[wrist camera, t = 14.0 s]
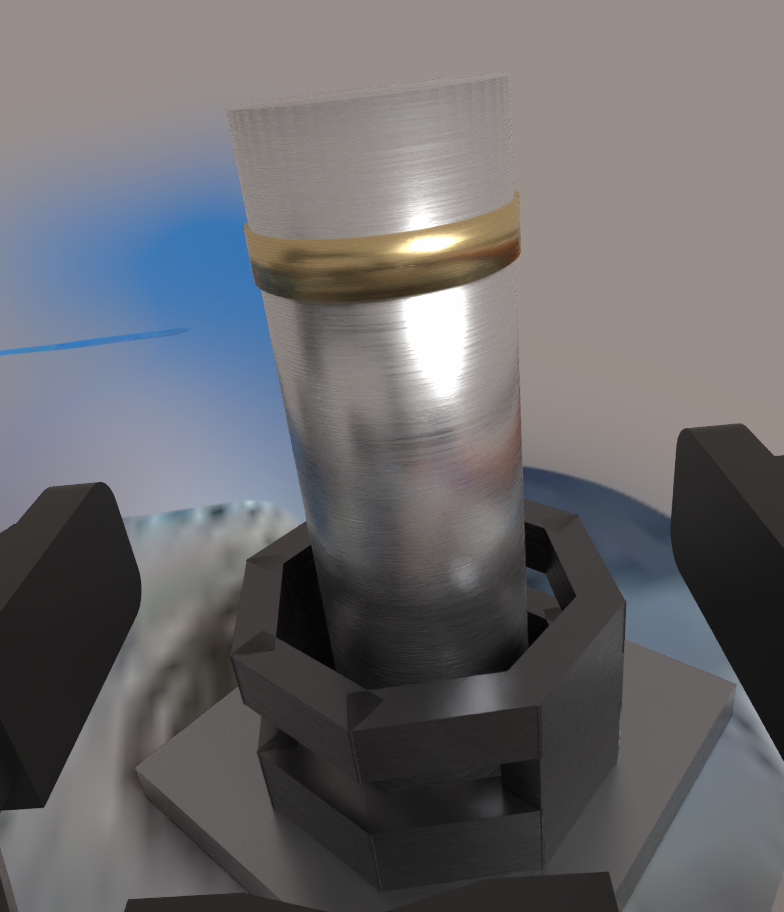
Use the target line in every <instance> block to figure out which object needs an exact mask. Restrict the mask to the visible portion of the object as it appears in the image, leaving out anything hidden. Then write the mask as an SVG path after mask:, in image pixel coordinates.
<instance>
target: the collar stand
mask: <svg viewBox="0 0 784 912" xmlns="http://www.w3.org/2000/svg"><path fill="white" fill-rule="evenodd" d="M524 528H525V560H526V567H529V568H531V569H534V570H537V571H539V572H542V573H545V574H546V576H547V578H548V581H549V583H550V585H551V587H552V590H553V592H554V594H555V597H554V596H552V595H549V594H547V593H544V592H542V591H539V590H536V589H534V588H531V587H529V586H526V591H527V622H528V650H527V651H526V652H525V653H524V654H523V655H522V656H521V657H520V658H519V659H518V660H517V662H516V663H515V664H514V665H513V666H512V667H511V668H510V669H509V670H508V671H506V672H499V673H491V674H484V675H477V676H470V677H462V678H455V679H448V680H441V681H433V682H426V683H419V684H411V685H404V686H397V687H390V688H382V689H375V690H366V689H365V688H363V687H361V686H360V685H358V684H356V683H354V682H353V681H351V680H349V679H347V678H346V677H344V676H342V675H341V674H339V673H337V672H336V668H335V663H334V658H333V653H332V648H331V643H330V638H329V632H328V627H327V622H326V617H325V612H324V607H323V602H322V597H321V592H320V587H319V581H318V576H317V571H316V566H315V561H314V556H313V551H312V546H311V541H310V536H309V531H308V525H307V521H306V522H304V523H303V524H301V525H299V526H298V527H296V528H295V529H293V530H292V531H290V532H289V533H287V534H286V535H284V536H283V537H281V538H280V539H278V540H276V541H275V542H273V543H272V544H270V545H269V546H267V547H266V548H264V549H263V550H261V551H260V552H258V553H256V554H255V555H253V556H252V557H250V558H249V559H247V560H246V562H247V563H246V569H245V575H244V581H243V586H242V592H241V598H240V604H239V609H238V615H237V621H236V627H235V632H234V638H233V644H232V650H231V654H230V659H231V662H232V666H233V669H234V673H235V676H236V680H237V684H238V687H237V688H236V689H234V690H233V691H232V692H231V693H229V694H228V695H227V696H225V697H224V698H223V699H222V700H220V701H219V702H218V703H216V704H215V705H214V706H213V707H211V708H210V709H209V710H208V711H206V712H205V713H204V714H202V715H201V716H200V717H199V718H197V719H196V720H195V721H194V722H192V723H191V724H190V725H188V726H187V727H186V728H185V729H183V730H182V731H181V732H179V733H178V734H177V735H176V736H174V737H173V738H172V739H171V740H169V741H168V742H167V743H165V744H164V745H163V746H162V747H160V748H159V749H158V750H157V751H155V752H154V753H153V754H151V755H150V756H149V757H148V758H146V759H145V760H144V761H142V762H141V763H140V764H139V765H137V766H136V767H135V769H136V772H137V774H138V777H139V779H140V782H141V785H142V787H143V790H144V792H145V795H146V797H147V798H148V799H149V800H151V801H152V802H153V803H154V804H155V805H156V806H157V807H158V808H159V809H160V810H161V811H162V812H163V813H164V814H166V815H167V816H168V817H169V818H170V819H171V820H172V821H173V822H174V823H175V824H176V825H177V826H178V827H179V828H181V829H182V830H183V831H184V832H185V833H186V834H187V835H188V836H189V837H190V838H191V839H192V840H193V841H194V842H196V843H197V844H198V845H199V846H200V847H201V848H202V849H203V850H204V851H205V852H206V853H207V854H208V855H209V856H211V857H212V858H213V859H214V860H215V861H216V862H217V863H218V864H219V865H220V866H221V867H222V868H223V869H224V870H226V871H227V872H228V873H229V874H230V875H231V876H232V877H233V878H234V879H235V880H236V881H237V882H238V883H239V884H241V885H242V886H243V887H244V888H245V889H246V890H247V891H248V892H249V893H250V894H251V895H255V896H259V897H264V898H268V899H273V900H277V901H282V902H286V903H291V904H295V905H300V906H304V907H309V908H313V909H318V910H322V911H327V912H386V911H389V910H392V909H395V908H398V907H401V906H404V905H408V904H411V903H414V902H417V901H420V900H423V899H426V898H429V897H432V896H435V895H438V894H441V893H444V892H447V891H451V890H454V889H457V888H460V887H463V886H466V885H469V884H472V883H475V882H478V881H481V880H484V879H489V878H506V877H523V876H541V875H558V874H575V873H592V872H609V874H610V878H611V882H612V886H613V890H614V894H615V898H616V902H617V905H618V909H619V912H622V910H623V908H624V906H625V905H626V903H627V901H628V899H629V898H630V896H631V894H632V892H633V890H634V889H635V887H636V885H637V883H638V882H639V880H640V878H641V876H642V874H643V873H644V871H645V869H646V867H647V866H648V864H649V862H650V860H651V858H652V857H653V855H654V853H655V851H656V850H657V848H658V846H659V844H660V842H661V841H662V839H663V837H664V835H665V834H666V832H667V830H668V828H669V826H670V825H671V823H672V821H673V819H674V818H675V816H676V814H677V812H678V810H679V809H680V807H681V805H682V803H683V802H684V800H685V798H686V796H687V795H688V793H689V791H690V789H691V787H692V786H693V784H694V782H695V780H696V779H697V777H698V775H699V773H700V771H701V770H702V768H703V766H704V764H705V763H706V761H707V759H708V757H709V755H710V754H711V752H712V750H713V748H714V747H715V745H716V743H717V741H718V739H719V738H720V736H721V734H722V732H723V731H724V729H725V727H726V725H727V723H728V722H729V720H730V718H731V716H732V713H733V706H734V698H735V691H736V684H735V683H732V682H730V681H727V680H725V679H722V678H720V677H717V676H715V675H712V674H710V673H707V672H705V671H702V670H700V669H697V668H695V667H692V666H690V665H687V664H685V663H682V662H680V661H677V660H675V659H672V658H670V657H667V656H665V655H662V654H660V653H657V652H655V651H653V650H650V649H648V648H645V647H643V646H640V645H638V644H635V643H633V642H630V641H628V640H625V621H626V600H624V598H623V596H622V594H621V592H620V591H619V589H618V587H617V585H616V583H615V582H614V580H613V578H612V576H611V574H610V573H609V571H608V569H607V567H606V565H605V564H604V562H603V560H602V558H601V557H600V555H599V553H598V551H597V549H596V548H595V546H594V544H593V542H592V540H591V539H590V537H589V535H588V533H587V531H586V530H585V528H584V526H583V524H582V523H581V521H580V519H579V515H577V514H572V513H569V512H566V511H563V510H559V509H556V508H553V507H549V506H546V505H543V504H540V503H536V502H533V501H530V500H527V499H524ZM498 764H500V765H501V776H496V777H488V778H481V779H474V780H467V781H460V782H452V783H445V784H438V785H431V786H424V787H417V788H409V789H402V790H395V791H388V792H385V791H384V790H382V789H381V788H379V787H378V786H376V785H375V784H373V783H372V782H376V781H383V780H390V779H397V778H404V777H411V776H419V775H426V774H433V773H440V772H447V771H455V770H462V769H469V768H476V767H483V766H491V765H498Z"/></svg>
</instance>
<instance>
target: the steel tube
mask: <svg viewBox="0 0 784 912" xmlns="http://www.w3.org/2000/svg"><path fill="white" fill-rule="evenodd" d="M226 112H227V118H228V122H229V128H230V133H231V138H232V143H233V148H234V153H235V159H236V164H237V169H238V174H239V179H240V183H241V189H242V194H243V199H244V204H245V209H246V214H247V220H248V221H247V222H246V224H245V225H244V233H245V238H246V243H247V247H248V253H249V258H250V263H251V267H252V272H253V278H254V282H255V284H256V286H258V288H259V289H261V291H262V296H263V301H264V306H265V311H266V316H267V322H268V327H269V331H270V337H271V342H272V347H273V352H274V357H275V362H276V367H277V373H278V378H279V383H280V387H281V393H282V398H283V403H284V408H285V413H286V418H287V424H288V429H289V434H290V439H291V443H292V449H293V453H294V459H295V464H296V469H297V474H298V479H299V484H300V490H301V495H302V500H303V505H304V510H305V515H306V520H307V525H308V531H309V536H310V541H311V546H312V551H313V556H314V561H315V566H316V571H317V576H318V581H319V587H320V592H321V597H322V602H323V607H324V612H325V617H326V622H327V627H328V632H329V638H330V643H331V648H332V653H333V658H334V663H335V668H336V672H337V673H339V674H341V675H342V676H344V677H346V678H347V679H349V680H351V681H353V682H354V683H356V684H358V685H360V686H361V687H363V688H365V689H366V690H375V689H382V688H390V687H397V686H404V685H411V684H419V683H426V682H433V681H441V680H448V679H455V678H462V677H470V676H477V675H484V674H491V673H499V672H506V671H508V670H509V669H510V668H511V667H512V666H513V665H514V664H515V663H516V662H517V660H518V659H519V658H520V657H521V656H522V655H523V654H524V653H525V652H526V651H527V650H528V622H527V591H526V560H525V528H524V497H523V466H522V438H521V437H522V435H521V404H520V374H519V343H518V310H517V279H516V259H517V258H518V257H519V255H520V252H521V237H520V236H521V235H520V199H519V193H518V192H517V191H516V190H515V189H514V187H513V156H512V125H511V124H512V123H511V92H510V74H509V73H496V74H481V75H470V76H458V77H448V78H438V79H428V80H419V81H410V82H401V83H393V84H384V85H377V86H368V87H361V88H352V89H345V90H337V91H330V92H322V93H316V94H308V95H301V96H294V97H287V98H281V99H275V100H268V101H262V102H256V103H250V104H245V105H239V106H235V107H231V108H227V109H226ZM496 776H501V765H500V764H498V765H491V766H483V767H476V768H469V769H462V770H455V771H447V772H440V773H433V774H426V775H419V776H411V777H404V778H397V779H390V780H383V781H376V782H372V783H373V784H375V785H376V786H378V787H379V788H381V789H382V790H384V791H385V792H388V791H395V790H402V789H409V788H417V787H424V786H431V785H438V784H445V783H452V782H460V781H467V780H474V779H481V778H488V777H496Z"/></svg>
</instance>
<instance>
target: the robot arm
mask: <svg viewBox="0 0 784 912" xmlns="http://www.w3.org/2000/svg"><path fill="white" fill-rule="evenodd" d="M671 543H672V549H673V554H674V558H675V562H676V565H677V567H678V570H679V572H680V574H681V575H682V577H683V579H684V581H685V583H686V585H687V586H688V588H689V590H690V592H691V594H692V595H693V597H694V599H695V601H696V603H697V605H698V606H699V608H700V610H701V612H702V614H703V615H704V617H705V619H706V621H707V623H708V625H709V626H710V628H711V630H712V632H713V634H714V635H715V637H716V639H717V641H718V643H719V645H720V646H721V648H722V650H723V652H724V654H725V655H726V657H727V659H728V661H729V663H730V665H731V666H732V668H733V670H734V672H735V674H736V675H737V677H738V679H739V681H740V683H741V685H742V686H743V688H744V690H745V692H746V694H747V695H748V697H749V699H750V701H751V703H752V705H753V706H754V708H755V710H756V712H757V714H758V715H759V717H760V719H761V721H762V723H763V725H764V726H765V728H766V730H767V732H768V734H769V735H770V737H771V739H772V741H773V743H774V745H775V746H776V748H777V750H778V752H779V754H780V755H781V757H782V759H783V761H784V455H782V456H774V455H773V454H772V453H771V452H770V451H769V450H768V449H767V448H766V447H765V446H764V445H763V444H762V443H761V442H760V441H759V440H758V439H757V438H756V436H755V435H754V434H753V433H752V432H751V431H750V430H749V429H748V428H747V427H746V426H744V425H743V424H728V425H717V426H707V427H696V428H685V429H683V430H682V431H681V432H680V434H679V437H678V441H677V447H676V460H675V474H674V486H673V500H672V514H671ZM140 602H141V578H140V573H139V569H138V566H137V563H136V560H135V557H134V554H133V551H132V548H131V545H130V542H129V539H128V536H127V533H126V530H125V527H124V524H123V521H122V518H121V514H120V511H119V508H118V505H117V502H116V499H115V497H114V494H113V493H112V491H111V489H110V488H109V486H107V485H106V484H105V483H103V482H97V483H86V484H75V485H64V486H54V487H49V488H47V489H45V490H44V491H43V492H42V494H41V495H40V496H39V497H38V498H37V500H36V501H35V502H34V503H33V504H32V506H31V507H30V508H29V509H28V510H27V511H26V513H25V514H24V515H23V516H22V517H21V519H20V520H19V521H18V522H17V523H16V524H13V525H12V526H10V527H9V528H8V529H6V530H5V531H3V532H2V533H0V812H1V811H2V810H17V809H32V808H44V807H45V805H46V803H47V800H48V798H49V796H50V794H51V792H52V790H53V788H54V786H55V784H56V782H57V780H58V778H59V776H60V774H61V771H62V769H63V767H64V765H65V763H66V761H67V759H68V757H69V755H70V753H71V751H72V749H73V747H74V745H75V742H76V740H77V738H78V736H79V734H80V732H81V730H82V728H83V726H84V724H85V722H86V720H87V718H88V716H89V713H90V711H91V709H92V707H93V705H94V703H95V701H96V699H97V697H98V695H99V693H100V691H101V689H102V686H103V684H104V682H105V680H106V678H107V676H108V674H109V672H110V670H111V668H112V666H113V664H114V662H115V660H116V657H117V655H118V653H119V651H120V649H121V647H122V645H123V643H124V641H125V639H126V637H127V635H128V633H129V631H130V628H131V626H132V624H133V622H134V620H135V618H136V616H137V614H138V611H139V607H140ZM0 912H18V908H17V905H16V901H15V898H14V894H13V891H12V887H11V884H10V880H9V877H8V873H7V870H6V866H5V863H4V859H3V856H2V852H1V849H0ZM124 912H327V911H322V910H318V909H313V908H309V907H304V906H300V905H295V904H291V903H286V902H282V901H277V900H273V899H268V898H264V897H259V896H255V895H250V894H246V893H230V894H213V895H196V896H179V897H161V898H144V899H128V901H127V904H126V907H125V911H124ZM386 912H619V909H618V905H617V902H616V898H615V894H614V890H613V886H612V882H611V878H610V874H609V872H592V873H575V874H558V875H541V876H523V877H506V878H489V879H484V880H481V881H478V882H475V883H472V884H469V885H466V886H463V887H460V888H457V889H454V890H451V891H447V892H444V893H441V894H438V895H435V896H432V897H429V898H426V899H423V900H420V901H417V902H414V903H411V904H408V905H404V906H401V907H398V908H395V909H392V910H389V911H386ZM771 912H784V873H783V876H782V879H781V882H780V885H779V888H778V891H777V894H776V897H775V900H774V903H773V907H772V910H771Z"/></svg>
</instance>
